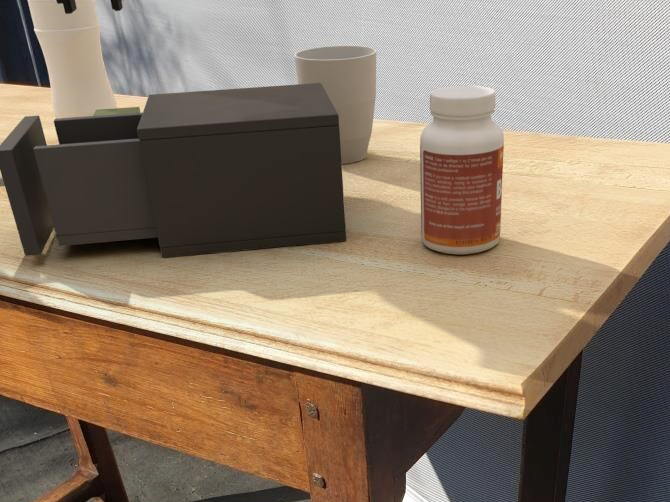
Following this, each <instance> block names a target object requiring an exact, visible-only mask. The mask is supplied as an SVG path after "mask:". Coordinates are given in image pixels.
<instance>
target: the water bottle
mask: <svg viewBox="0 0 670 502" xmlns="http://www.w3.org/2000/svg"><path fill="white" fill-rule="evenodd" d="M75 3H76V10H75V11H74V12H73V13H71V14H66V13H65V10H64V6H63V4H58V3H57V1H56V0H27V4H28V7H29V12H30V17H31V20H32V24H33V31H34V33H35V36H36V38H37V40H38V42H39V45H40V49H41V51H42V54H43V58H44V61H45V65H46V68H47V74H48V80H49V85H50V95H51V106H52V110H53V113H54V117H55V119H58V118H72V117H86V116H93V115H94V113H95V111H96V110H100V109H114V108H118V105H117V99H116V96H115V93H114V92H113V89H112V87H111V83H110V80H109V77H108V74H107V69H106V66H105V62H104V56H103V51H102V50H103V49H102V42H101V29H100V27H101V25H100V23H99V19H98V14H97V9H96V8H97V7H96V3H95V0H75Z"/></svg>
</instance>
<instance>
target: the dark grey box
mask: <svg viewBox="0 0 670 502" xmlns="http://www.w3.org/2000/svg"><path fill="white" fill-rule="evenodd" d="M142 113H143V114H142V117H141V119H140V122H139V125H138V128H137V133H138V138H139V143H140V148H141V153H142V158H143V164H144V169H145V174H146V179H147V184H148V189H149V194H150V199H151V205H152V210H153V215H154V220H155V225H156V230H157V235H158V237H157V240H158V245H159V250H160V256H161V258H173V257H174V258H175V257H184V256H185V257H186V256H195V255H206V254H207V255H208V254H217V253H228V252H240V251H241V252H242V251H250V250H261V249H274V248H282V247H283V248H284V247H295V246H305V245H316V244H327V243H328V244H329V243H338V242H346V241H347V233H346V232H347V231H346V230H347V229H346V227H347V226H346V212H345V196H344V195H345V194H344V180H343V179H344V177H343V164H342V162H341V146H340V130H339V115H338V113H337V111H336V109H335V108H334V106H333V104H332V102H331V100H330V98H329V97H328V95H327V93H326V91H325V89H324V87H323V86H322V84H321V83H312V84H298V83H297V84H285V85H283V84H282V85H271V86H256V87H242V88H241V87H240V88H225V89H212V90H198V91H185V92H184V91H183V92H169V93H155V94H148V97H147V100H146V103H145V105H144V108H143V110H142Z"/></svg>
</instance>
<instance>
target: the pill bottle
mask: <svg viewBox="0 0 670 502" xmlns="http://www.w3.org/2000/svg"><path fill="white" fill-rule="evenodd" d="M428 109H429V111H430V112H429V113H430V115H431V116H432V117H433V120H432V121H431V122H430V123H428V124H427V125H425V127H424V128H423V130H422V132H421V134H420V139H419V153H420V154H419V158H420V159H419V161H420V163H419V165H420V171H419V173H420V176H419V177H420V229H421V230H420V233H421V235H420V236H421V241H422V243H423V244H424V246H426V247H427V248H428V249H431V251H435V252H438V253H442V254H448V255H449V254H450V255H458V256H459V255H460V256H461V255H472V254H478V253H482V252H485V251H487V250H490V249H492V248H494V247H495V246H496V245H497V244H498V243H499V241H500V238H501V229H502V228H501V221H502V198H503V197H502V196H503V173H504V171H503V169H504V150H505V149H504V147H505V135H504V132H503V129H502V128H501V127H500V125H499V124H498V123H497V122H495V121H494V120H493V119H492V115H493V114H494V113H495V109H496V90H495V89H494V88H492V87H488V86H482V85H451V86H444V87H439V88H435V89H433V90H431V91H430V93H429V108H428Z"/></svg>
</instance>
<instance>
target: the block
mask: <svg viewBox="0 0 670 502" xmlns="http://www.w3.org/2000/svg"><path fill="white" fill-rule="evenodd" d="M128 113H142V112H141V108H140V106H132V107H131V106H130V107H117V108H114V109H100V110H96V111H95V113H94V115H93V116H100V115H114V114H128Z"/></svg>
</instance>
